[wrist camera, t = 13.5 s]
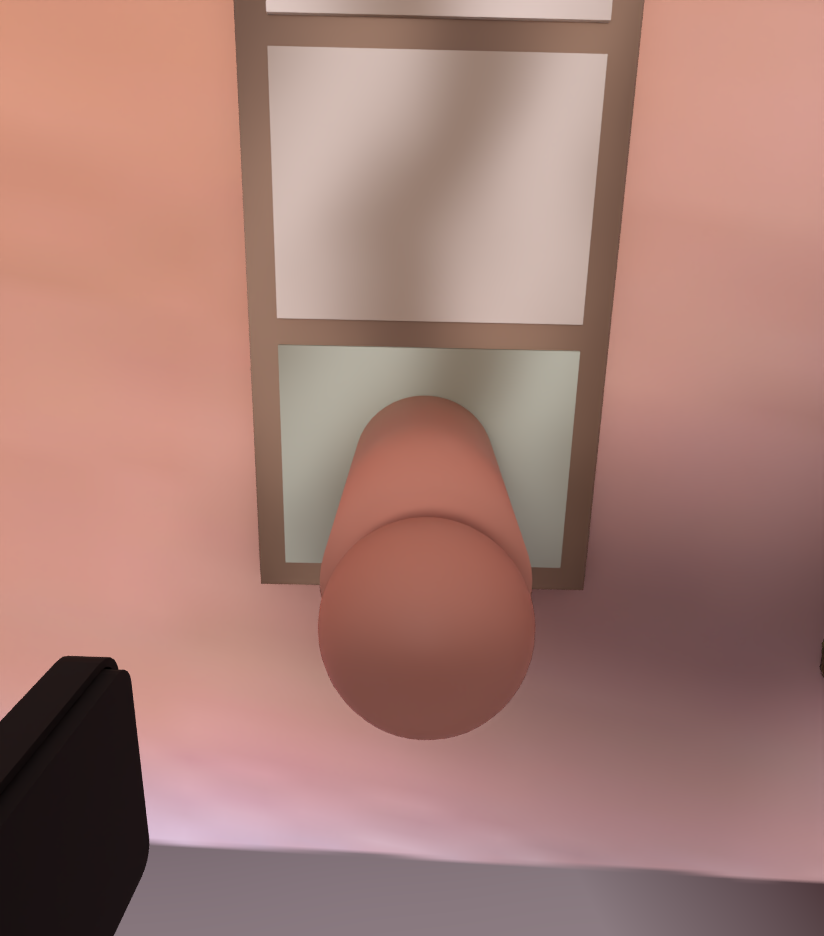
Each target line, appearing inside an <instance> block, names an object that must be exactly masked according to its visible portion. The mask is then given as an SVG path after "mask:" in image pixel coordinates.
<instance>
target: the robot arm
mask: <svg viewBox="0 0 824 936" xmlns="http://www.w3.org/2000/svg"><path fill="white" fill-rule="evenodd" d="M148 852H149V833H148V825H147V816H146V807H145V798H144V789H143V781H142V772H141V763H140V754H139V745H138V737H137V728H136V719H135V710H134V701H133V693H132V684H131V678H130V675H129V673H128V671H126V670H118V666H117V664H116V662H115V660H114V659H112V658H110V657H84V656H65V657H62V658H61V659H59V660H58V661H57V662H56V663H55V664H54V665H53V666H52V667H51V668H50V669H49V670H48V671H47V672H46V673H45V675H44V676H43V677H42V678H41V679H40V680H39V681H38V682H37V683H36V684H35V685H34V686H33V687H32V688H31V689H30V690H29V691H28V693H27V694H26V695H25V696H24V697H23V698H22V699H21V700H20V701H19V702H18V703H17V704H16V705H15V706H14V707H13V708H12V710H11V711H10V712H9V713H8V714H7V715H6V716H5V717H4V718H3V719H2V720H1V721H0V936H114V934H115V932H116V930H117V928H118V925H119V923H120V921H121V919H122V917H123V915H124V913H125V911H126V908H127V906H128V904H129V902H130V900H131V898H132V896H133V894H134V892H135V889H136V887H137V885H138V883H139V881H140V879H141V877H142V875H143V872H144V870H145V866H146V863H147V858H148Z"/></svg>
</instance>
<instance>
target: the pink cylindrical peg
mask: <svg viewBox="0 0 824 936" xmlns="http://www.w3.org/2000/svg"><path fill="white" fill-rule="evenodd" d="M320 592H321V597H322V601H321V604H320V611H319V620H318V637H319V646H320V651H321V656H322V660H323V662H324V665H325V668H326V671H327V673H328V676H329V678H330V680H331V682H332V684H333V686H334V687H335V689H336V690H337V692H338V693H339V694H340V696H341V697H342V698H343V700H344V701H345V702H346V703H347V705H348V706H349V707H350V708H351V709H352V710H353V711H354V712H356V713H357V714H358V715H359V716H361V717H362V718H363V719H364V720H366V721H367V722H369V723H370V724H372V725H373V726H375V727H377V728H379V729H381V730H383V731H385V732H387V733H390V734H393V735H396V736H400V737H404V738H409V739H417V740H437V739H445V738H450V737H455V736H458V735H461V734H464V733H467V732H469V731H471V730H473V729H476V728H477V727H479V726H481V725H482V724H484V723H486V722H487V721H488V720H490V719H491V718H492V717H493V716H495V715H496V714H497V713H499V712H500V711H501V710H502V709H503V708H504V707H505V706H506V705H507V704H508V702H509V701H510V700H511V698H512V697H513V696H514V694H515V693H516V692H517V690H518V689H519V687H520V685H521V683H522V681H523V680H524V678H525V675H526V673H527V670H528V667H529V665H530V662H531V658H532V654H533V649H534V640H535V617H534V610H533V605H532V601H531V593H532V570H531V564H530V560H529V555H528V552H527V549H526V546H525V543H524V540H523V537H522V534H521V532H520V529H519V526H518V523H517V520H516V517H515V514H514V511H513V508H512V505H511V502H510V499H509V496H508V493H507V490H506V487H505V484H504V481H503V478H502V475H501V472H500V469H499V466H498V463H497V460H496V457H495V454H494V451H493V448H492V445H491V442H490V440H489V437H488V435H487V433H486V431H485V429H484V427H483V426H482V424H481V423H480V422H479V421H478V419H477V418H476V417H475V416H474V415H473V414H472V413H471V412H469V411H468V410H467V409H465V408H464V407H462V406H461V405H459V404H457V403H455V402H453V401H450V400H448V399H444V398H441V397H435V396H413V397H408V398H404V399H401V400H398V401H396V402H393V403H392V404H390V405H388V406H386V407H385V408H383V409H382V410H381V411H379V412H378V413H377V414H376V415H375V416H374V417H373V418H372V419H371V420H370V421H369V423H368V424H367V425H366V427H365V428H364V430H363V432H362V434H361V436H360V439H359V441H358V444H357V447H356V451H355V454H354V457H353V461H352V464H351V467H350V470H349V474H348V477H347V480H346V483H345V487H344V490H343V493H342V496H341V500H340V503H339V506H338V510H337V513H336V516H335V519H334V523H333V526H332V529H331V532H330V536H329V539H328V542H327V546H326V549H325V552H324V556H323V560H322V564H321V570H320Z"/></svg>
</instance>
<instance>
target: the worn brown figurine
mask: <svg viewBox="0 0 824 936" xmlns="http://www.w3.org/2000/svg"><path fill="white" fill-rule="evenodd" d="M822 647H823V648H822V660H821V665H820V669H821V671H822V673H823V674H822V675H823V677H824V641H823V642H822Z"/></svg>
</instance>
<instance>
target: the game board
mask: <svg viewBox="0 0 824 936" xmlns="http://www.w3.org/2000/svg"><path fill="white" fill-rule="evenodd" d="M643 9H644V0H234V19H235V40H236V61H237V83H238V104H239V125H240V147H241V168H242V189H243V210H244V232H245V253H246V274H247V296H248V317H249V338H250V359H251V381H252V402H253V423H254V445H255V466H256V487H257V508H258V530H259V551H260V572H261V584H307V585H320V570H321V564H322V560H323V556H324V552H325V549H326V546H327V542H328V539H329V536H330V532H331V529H332V526H333V523H334V519H335V516H336V513H337V510H338V506H339V503H340V500H341V496H342V493H343V490H344V487H345V483H346V480H347V477H348V474H349V470H350V467H351V464H352V461H353V457H354V454H355V451H356V447H357V444H358V441H359V439H360V436H361V434H362V432H363V430H364V428H365V427H366V425H367V424H368V423H369V421H370V420H371V419H372V418H373V417H374V416H375V415H376V414H377V413H378V412H379V411H381V410H382V409H383V408H385V407H386V406H388V405H390V404H392V403H393V402H396V401H398V400H401V399H404V398H408V397H413V396H435V397H441V398H444V399H448V400H450V401H453V402H455V403H457V404H459V405H461V406H462V407H464V408H465V409H467V410H468V411H469V412H471V413H472V414H473V415H474V416H475V417H476V418H477V419H478V421H479V422H480V423H481V424H482V426H483V427H484V429H485V431H486V433H487V435H488V437H489V440H490V442H491V445H492V448H493V451H494V454H495V457H496V460H497V463H498V466H499V469H500V472H501V475H502V478H503V481H504V484H505V487H506V490H507V493H508V496H509V499H510V502H511V505H512V508H513V511H514V514H515V517H516V520H517V523H518V526H519V529H520V532H521V534H522V537H523V540H524V543H525V546H526V549H527V552H528V555H529V560H530V564H531V570H532V589H561V590H583V587H584V577H585V567H586V558H587V548H588V539H589V529H590V519H591V510H592V500H593V490H594V481H595V471H596V462H597V452H598V442H599V433H600V423H601V413H602V404H603V394H604V384H605V375H606V365H607V356H608V346H609V336H610V327H611V317H612V307H613V298H614V288H615V279H616V269H617V259H618V250H619V240H620V230H621V221H622V211H623V202H624V192H625V182H626V173H627V163H628V153H629V144H630V134H631V125H632V115H633V105H634V96H635V86H636V76H637V67H638V57H639V47H640V38H641V28H642V19H643Z"/></svg>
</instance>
